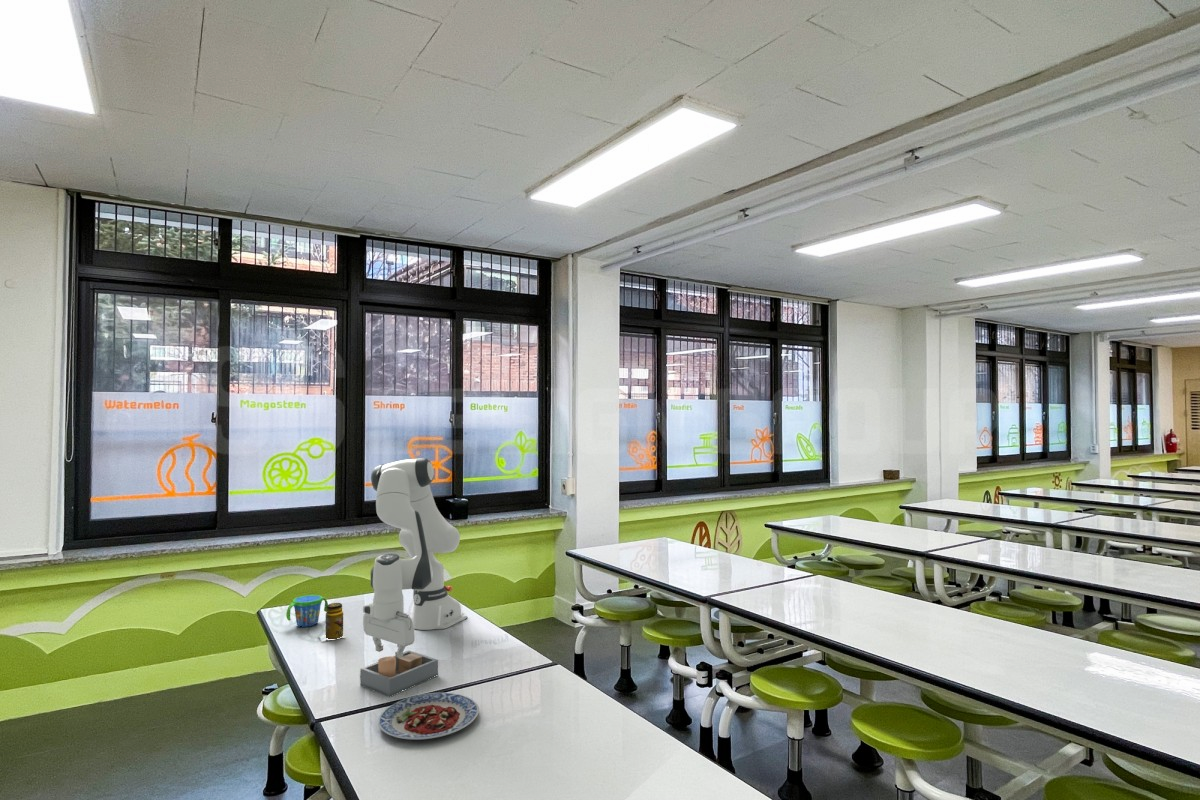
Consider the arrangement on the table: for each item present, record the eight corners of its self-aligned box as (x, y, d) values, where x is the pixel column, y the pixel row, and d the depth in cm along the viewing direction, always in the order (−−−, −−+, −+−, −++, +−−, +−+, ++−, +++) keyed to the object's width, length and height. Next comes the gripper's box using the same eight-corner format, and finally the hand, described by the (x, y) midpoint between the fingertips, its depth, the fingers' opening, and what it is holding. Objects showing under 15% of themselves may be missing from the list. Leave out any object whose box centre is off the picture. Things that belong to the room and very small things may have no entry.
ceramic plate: (496, 708, 179) (496, 697, 179) (442, 755, 155) (442, 742, 155) (418, 694, 188) (418, 684, 188) (356, 736, 164) (356, 724, 164)
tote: (409, 665, 209) (409, 650, 209) (438, 675, 201) (438, 659, 201) (360, 685, 194) (360, 668, 194) (389, 696, 186) (389, 679, 186)
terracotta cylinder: (389, 678, 197) (388, 655, 197) (399, 681, 194) (399, 658, 194) (375, 683, 193) (374, 660, 193) (385, 687, 190) (385, 664, 190)
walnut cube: (411, 669, 204) (411, 653, 204) (422, 672, 201) (422, 656, 201) (398, 674, 200) (398, 658, 200) (408, 678, 197) (408, 661, 197)
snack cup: (322, 617, 259) (322, 591, 259) (333, 623, 252) (333, 597, 252) (281, 626, 248) (281, 599, 248) (291, 632, 241) (291, 605, 241)
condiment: (346, 638, 235) (346, 605, 235) (321, 643, 230) (321, 609, 230) (341, 632, 241) (341, 600, 241) (317, 637, 236) (317, 604, 236)
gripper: (419, 612, 193) (420, 657, 193) (376, 600, 204) (377, 643, 204) (402, 618, 188) (403, 665, 188) (359, 606, 199) (359, 650, 199)
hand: (389, 654), depth 196 cm, fingers open, 8 cm apart
